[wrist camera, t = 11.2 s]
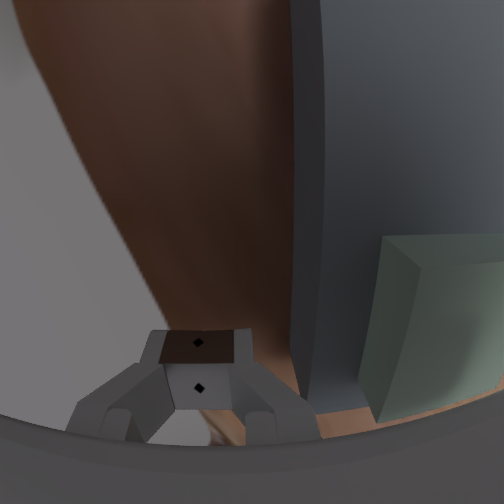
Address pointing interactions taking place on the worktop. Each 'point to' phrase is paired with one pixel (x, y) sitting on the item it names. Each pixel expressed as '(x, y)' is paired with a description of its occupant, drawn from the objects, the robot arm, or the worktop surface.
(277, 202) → the worktop surface
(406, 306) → the tile
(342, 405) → the dark grey slab
